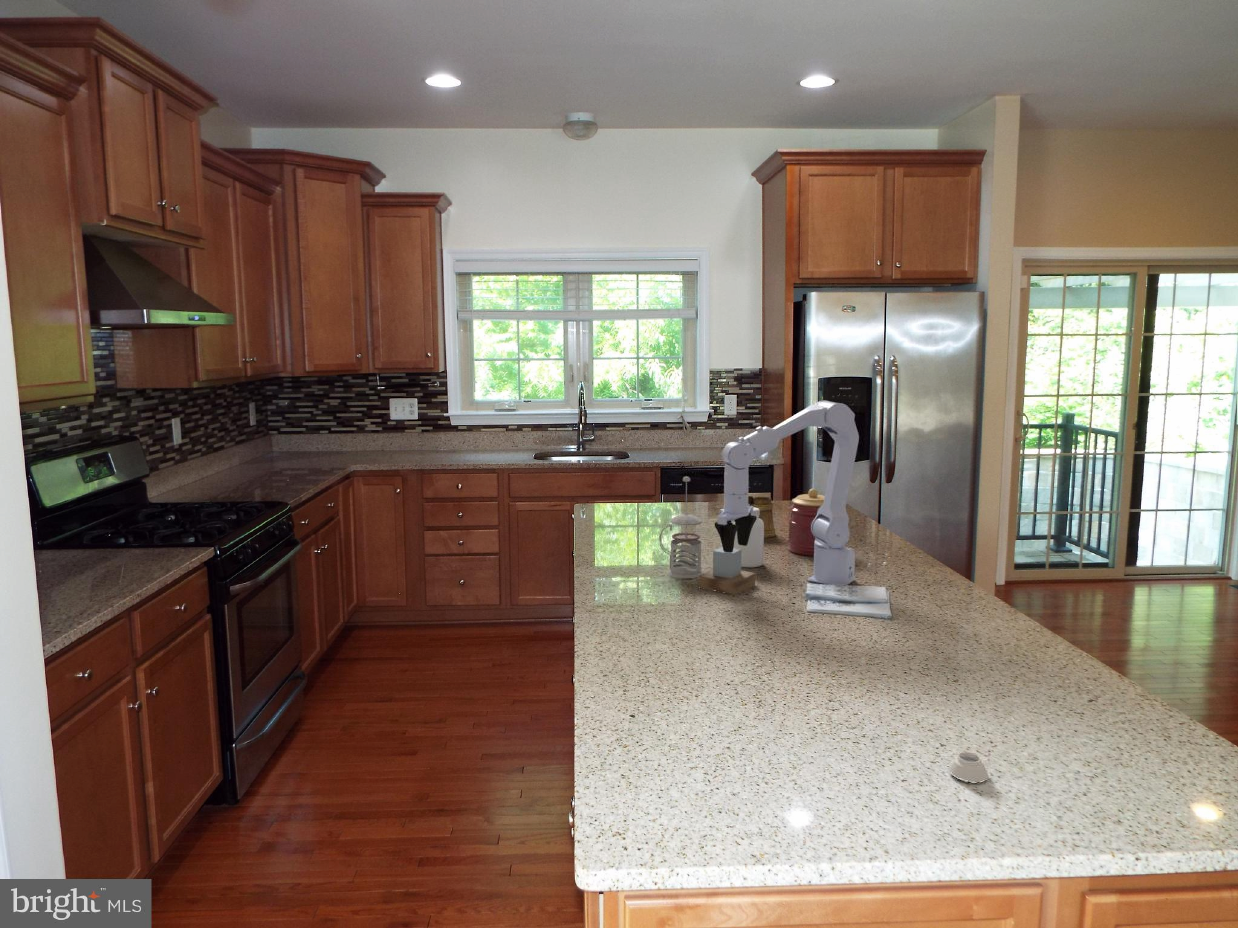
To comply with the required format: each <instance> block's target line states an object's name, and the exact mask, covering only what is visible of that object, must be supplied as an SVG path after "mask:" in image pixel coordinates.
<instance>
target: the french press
mask: <svg viewBox="0 0 1238 928" xmlns="http://www.w3.org/2000/svg"><path fill="white" fill-rule="evenodd" d="M682 482H685V513H682V514H678V515H676V516H674V517H672V518H671V519H670V523H671V524H668V525H666V526H665V527H663V528H662V529H661V532H660V534H659V536H658V538H659V539H658V540H659V546H660V548H661V550H662V551H664V553H665V554H668V555H669V569H668V570H667V571H666V575H668V576H669V575H670V576H669V577H672V578H675V577H676V578H675V579H682V578H692V579H696V578H695V577H699V576H700V575H702V574H704V573H705V572H704V570H703V569H702V541H701V540H699V539H700V538H701V536H700V534H697V533H694V532H691V533H690V532H677V533H673V534H672V535H671V537H672V540H671V542H670V550H668V549H667V548H665V547H664V545H663V542H662V535H663V532H664V530H666V529H667V528H669V530H670V532H672V530H673V525H678V526H685V529H687V526H698V525H700V524H702V522H703V520H702V518H699V516H696V515H693V514H689V513H687V512H688V511H687V510H688V509H687V507H688V504H687V501H688V497H687V495H688V492H687V491H688V482H691V478H690V477H689V476H683V478H682ZM672 524H673V525H672ZM682 543H686V544H682ZM687 544H689V545H687ZM677 550H678V551H677ZM687 558H688V559H687ZM689 559H690V560H689ZM678 577H679V578H678Z"/></svg>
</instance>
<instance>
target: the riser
mask: <svg viewBox="0 0 1238 928" xmlns="http://www.w3.org/2000/svg"><path fill="white" fill-rule="evenodd" d="M751 586H752V587H754V586H756V573H755V572H750V571H747V570H746V571H745V570H741V574H740V575H738V576H736V577H734V578H732V579H731V578H725V577H720V576H714V575H713V569H710V570H709V571H707V572H704V574H702V575H700V576H699V578H698V587H700V588H704V589H703V590H706V589H710V590H709V591H711V590H716V591H719V592H718V593H721V592H725V593H724V594H726V593H729V594H728V595H731V594H734V595H733V596H737V595H739V594H741V593H742V591H743V592H744V590H745V591H747V590H748V588H749V587H750V588H752V587H751ZM700 588H699V589H700ZM750 588H749V589H750ZM746 589H747V590H746ZM716 591H715V592H716ZM740 592H741V593H740ZM738 593H739V594H738ZM736 594H737V595H736Z"/></svg>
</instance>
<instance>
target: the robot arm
mask: <svg viewBox="0 0 1238 928" xmlns="http://www.w3.org/2000/svg"><path fill="white" fill-rule="evenodd" d="M855 417H856V414H855V413H854V411H852V409H851V408H850V407H849V406H848V405H847V404H844V403H842V402H841V403H840V402H834V401H829V400H826V399H825V400H824V399H823V400H820V401H818V402H816V403H813V404H811V405H808V406H807V407H806V408H804V409H803V410H800V411H799V412H797V413H796V414H793V416H791V417H789V418H787V419H785V420H784V421H782V422H780V423H779V424H777V425H775V426H774V427H769V426H766V425H765V426H757V427H756V428H755V431H753V432H752V433H749V434H748V435H746V436H745V437H743V436H740V437H738V442H737V441H730V442H728V443H727V444H726V445H724V448H723V449H722V452H721V453H720V457H721V460H722V462H723V463H724V473H723V474H724V475H723V478H724V481H723V482H724V483H723V486H724V487H723V494H724V495H723V508H721V509H719V513H720V514H719V515H718V516H717V521H715V522H714V528H715V529H716V531H717V533H718V535H719V538H720V542H721V547H723V551H724V552H730V553H732V552H733V548H734V540H735V535H736V532H737V539H738V544H739V545H743V546H747V544H748V541H749V537H750V533H751V530H752V527H753V525H754V523H755V521H756V519H757V517H756V516H752V515H751V514H753V506H749V504H748V496H749V476H750V475H749V466H750V465H751V464H752V463H753V460H754V461H755V460H756V459H757V458H760V457H761V456H763V455H765V454H767V453H768V452H771V451H773V450H775V449H776V448H778V445H779V442H780V441H781V440H783V439H786V438H788V437H789V436H791V435H794V434H795V433H797V432H800V431H802V430H805V429H806V428H809V427H817V428H823V429H824V430H825V431H826V432H827V433H828V434H829V436H830V437H831V438H832V440H833V441H834V444H833V451H832V454H831V455H832V457H831V461H830V466H829V473H828V478H827V483H826V488H825V493H824V496H825V497H824V502H823V505H822V506H821V507H820V508H819V509H818V511H817V515H816V517H815V519H814V520H813V522H812V524H811V532H812V534H813V535H814V536H815V545H814V556H813V575H811V576H809V577H808V578H807V579H806V580H807V581H808V582H812V583H817V584H822V585H826V584H827V585H849V584H851V583H852V582H854V581H855V580H856V578H855V569H856V568H855V565H856V554H855V549H853V548H852V547H847V546H846V544H847V542H849V540H850V535H851V534H850V533H851V532H850V528H849V521H850V518H849V515H848V512H847V510H846V508H847V507H846V506H847V503H848V502H847V501H848V496H849V493H850V486H851V481H852V476H853V471H854V466H855V461H856V456H857V451H858V445H859V440H860V435H859V432H858V429H857V426H856V421H855ZM734 521H735V524H734Z"/></svg>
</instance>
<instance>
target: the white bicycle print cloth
mask: <svg viewBox="0 0 1238 928" xmlns="http://www.w3.org/2000/svg"><path fill="white" fill-rule="evenodd" d="M804 597H805V598H806V599H805V600H804V601H807V604H806V613H811V614H812V613H814V614H828V615H829V614H830V615H838V616H839V615H842V616H852V617H853V616H854V617H864V618H865V617H867V618H868V617H869V618H875V619H885V620H888V619H890V620H891V619H893V615H892V612H891V606H890V605H891V604H890V591H889V590H887V588H886V586H872V585H869V586H868V585H849V584H848V585H829V584H823V583H808V582H807V584H806V592H805V596H804ZM841 602H846V603H851V604H843V603H841Z"/></svg>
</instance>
